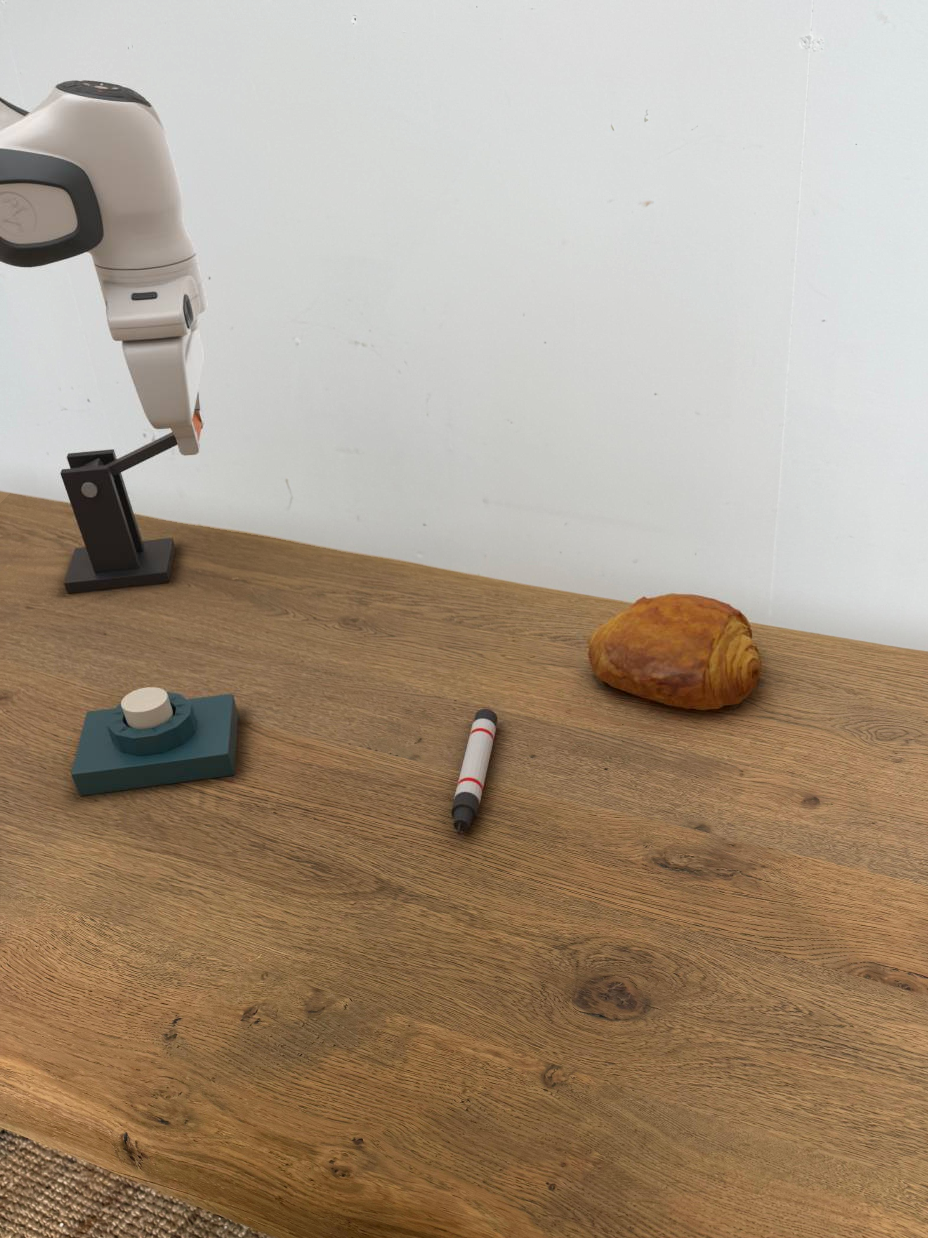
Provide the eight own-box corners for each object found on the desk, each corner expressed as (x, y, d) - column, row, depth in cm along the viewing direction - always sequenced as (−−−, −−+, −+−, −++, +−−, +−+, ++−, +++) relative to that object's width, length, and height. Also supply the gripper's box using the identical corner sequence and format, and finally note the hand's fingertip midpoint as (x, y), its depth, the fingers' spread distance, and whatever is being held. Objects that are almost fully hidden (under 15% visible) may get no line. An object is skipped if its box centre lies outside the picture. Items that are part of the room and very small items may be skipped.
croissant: (713, 757, 100) (727, 683, 94) (561, 685, 105) (566, 610, 99) (788, 673, 109) (805, 601, 103) (645, 611, 114) (654, 538, 108)
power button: (124, 732, 94) (118, 714, 93) (129, 708, 97) (123, 690, 96) (171, 726, 95) (165, 708, 93) (175, 702, 97) (169, 684, 96)
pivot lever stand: (175, 547, 127) (144, 440, 119) (169, 582, 121) (136, 471, 113) (78, 558, 125) (40, 450, 118) (67, 593, 119) (26, 482, 112)
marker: (475, 727, 100) (473, 708, 99) (498, 727, 100) (496, 708, 99) (447, 844, 88) (444, 824, 87) (473, 845, 88) (470, 824, 87)
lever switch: (205, 429, 118) (191, 407, 117) (202, 448, 115) (187, 426, 113) (92, 484, 119) (76, 464, 118) (85, 505, 116) (69, 484, 114)
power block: (79, 796, 94) (63, 755, 91) (94, 732, 100) (79, 693, 98) (234, 775, 96) (222, 735, 93) (238, 714, 102) (227, 675, 100)
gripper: (130, 263, 115) (169, 405, 124) (104, 327, 99) (150, 484, 108) (197, 258, 115) (230, 400, 124) (181, 321, 100) (220, 477, 109)
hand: (193, 440), depth 116 cm, fingers closed on lever switch, 5 cm apart
